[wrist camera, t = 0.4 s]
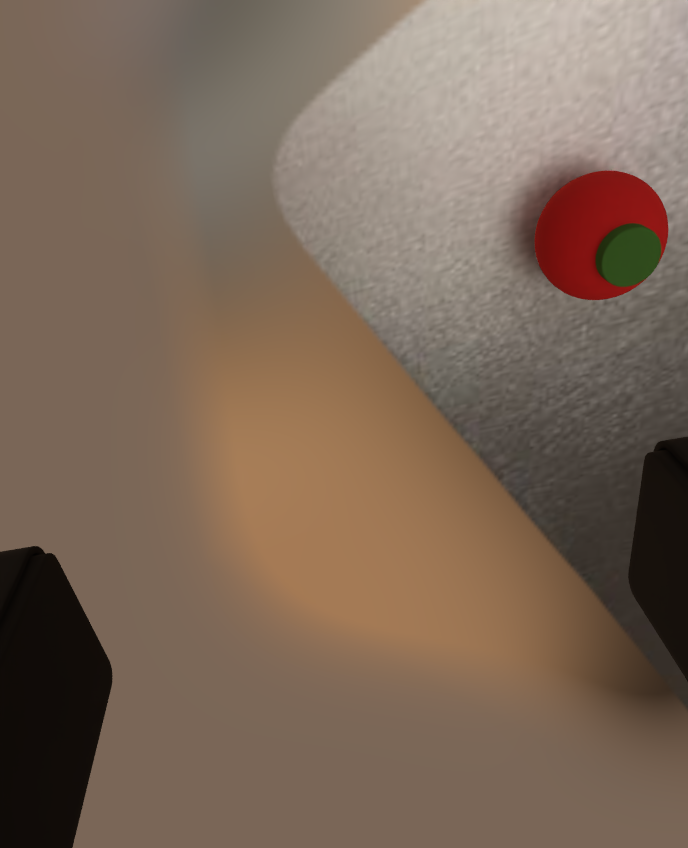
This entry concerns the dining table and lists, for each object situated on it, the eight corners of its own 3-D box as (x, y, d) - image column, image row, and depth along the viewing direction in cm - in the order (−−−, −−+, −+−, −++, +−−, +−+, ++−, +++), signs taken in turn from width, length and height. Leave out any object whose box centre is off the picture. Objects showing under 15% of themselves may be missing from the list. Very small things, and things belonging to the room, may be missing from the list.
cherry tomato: (517, 172, 21) (567, 201, 18) (635, 150, 21) (709, 174, 18) (518, 285, 24) (563, 332, 20) (626, 265, 24) (690, 309, 20)
